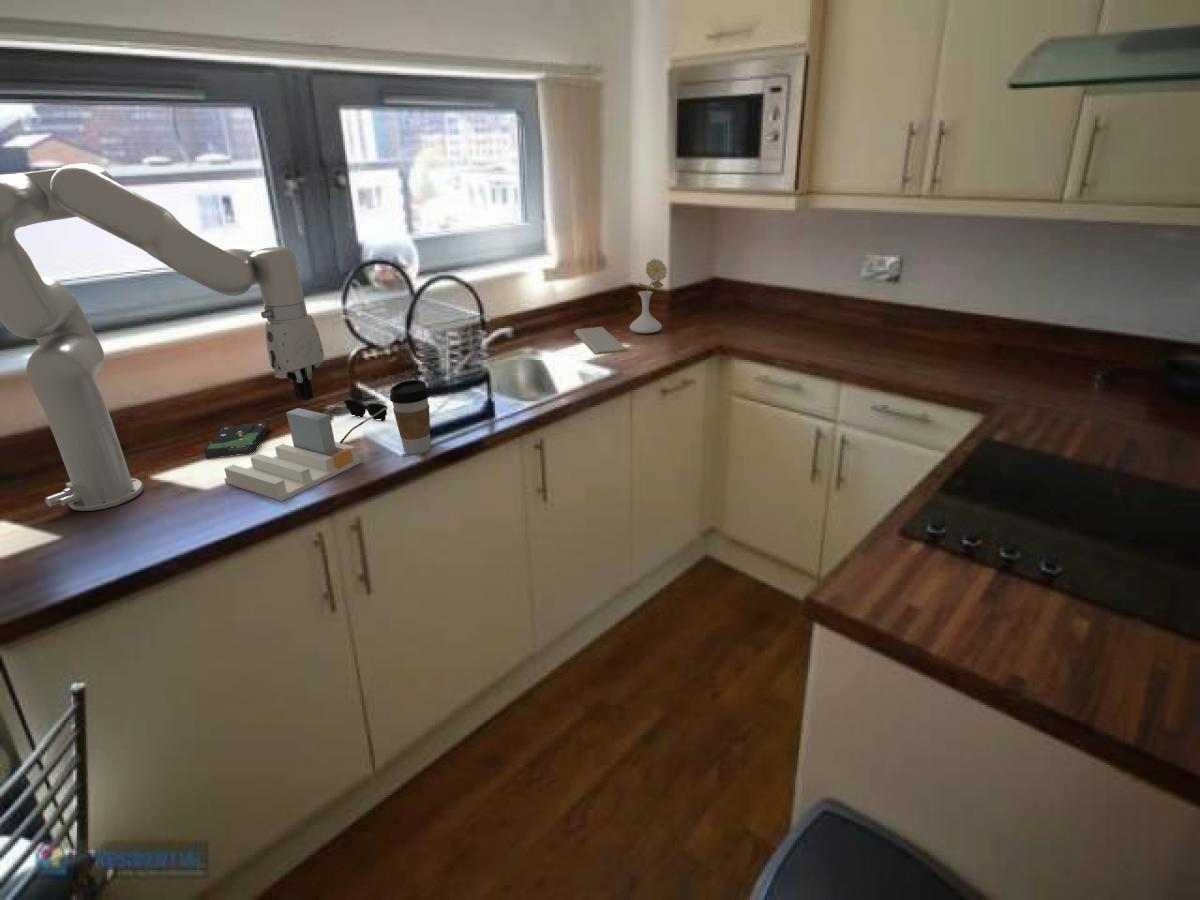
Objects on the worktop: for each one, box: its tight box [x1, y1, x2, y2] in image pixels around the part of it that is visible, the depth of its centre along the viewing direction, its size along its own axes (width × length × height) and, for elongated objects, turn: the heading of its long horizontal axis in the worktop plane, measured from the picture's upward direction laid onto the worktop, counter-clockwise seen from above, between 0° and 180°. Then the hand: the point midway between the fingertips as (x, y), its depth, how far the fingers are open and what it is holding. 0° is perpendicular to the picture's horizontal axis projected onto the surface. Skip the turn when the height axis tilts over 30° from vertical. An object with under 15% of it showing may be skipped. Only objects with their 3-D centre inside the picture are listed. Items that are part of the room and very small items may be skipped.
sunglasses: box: [322, 398, 388, 444], centre depth 171 cm, size 14×16×5 cm
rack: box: [223, 441, 362, 502], centre depth 149 cm, size 20×18×4 cm
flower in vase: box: [629, 258, 668, 334], centre depth 243 cm, size 13×11×25 cm
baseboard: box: [571, 323, 627, 356], centre depth 238 cm, size 31×3×12 cm
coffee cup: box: [389, 379, 432, 455], centre depth 156 cm, size 8×8×15 cm
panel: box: [286, 407, 337, 457], centre depth 152 cm, size 3×10×10 cm, turn 60°
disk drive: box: [203, 421, 270, 459], centre depth 165 cm, size 10×3×15 cm
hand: (305, 398), depth 148 cm, fingers closed
